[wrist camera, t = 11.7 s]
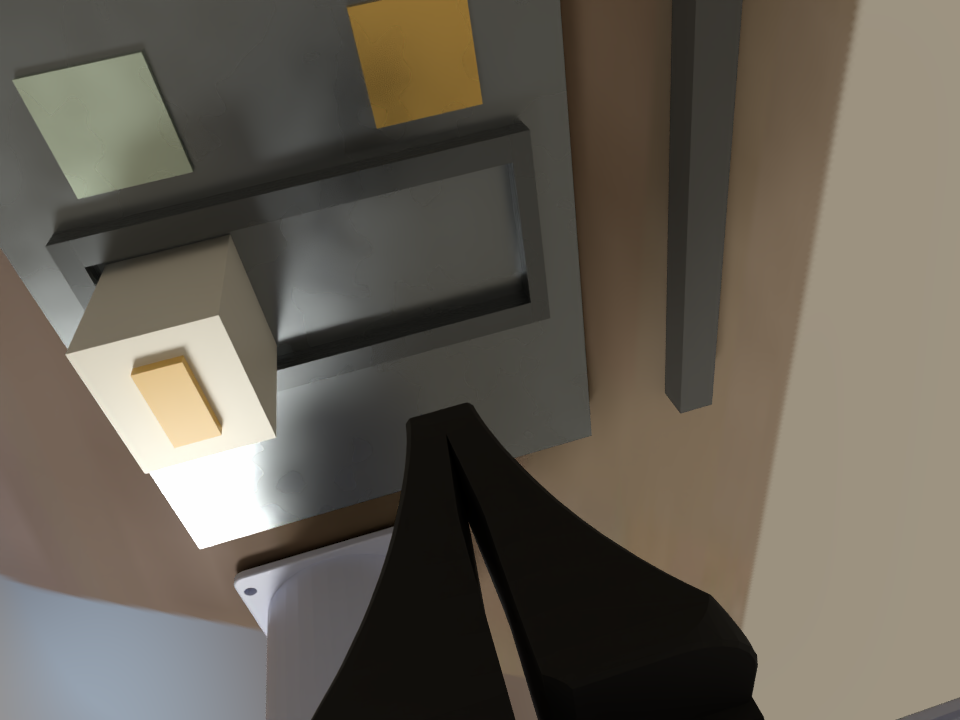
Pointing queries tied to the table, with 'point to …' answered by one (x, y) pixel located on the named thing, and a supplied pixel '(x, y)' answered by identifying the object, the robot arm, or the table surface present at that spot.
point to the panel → (315, 214)
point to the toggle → (179, 354)
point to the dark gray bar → (698, 190)
